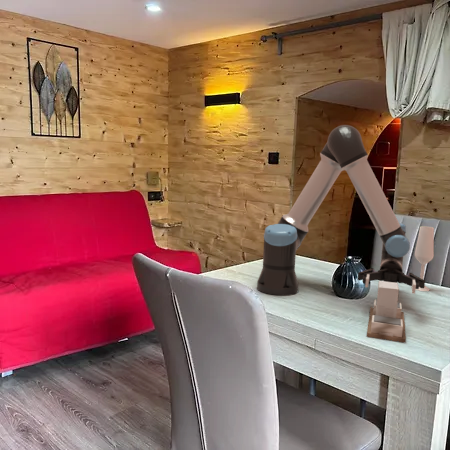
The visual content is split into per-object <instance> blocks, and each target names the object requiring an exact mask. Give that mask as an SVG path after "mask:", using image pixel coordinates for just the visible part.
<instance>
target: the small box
mask: <svg viewBox="0 0 450 450" xmlns="http://www.w3.org/2000/svg"><path fill="white" fill-rule="evenodd" d="M377 282H378V284H377V295H376V296H377V297H376V299H377V306H376V315H378V316H385V317H392V318H396V315H397V304H398V302H399V301H398V300H399V290H400V289H399V283H398V282H397V283H394V282H385V281H379V280H378V281H377Z"/></svg>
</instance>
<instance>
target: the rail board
mask: <svg viewBox="0 0 450 450" xmlns="http://www.w3.org/2000/svg"><path fill="white" fill-rule="evenodd" d="M376 306H377V298H376V299H374V301H373V307H372V306H371V307H370V309H369V315H368V321H367V322H368V324H367V329H366V337H367V336H368V337H367V338H373V337H374V338H373V339H381V340H385V339H386V340H385V341H391V340H392V341H393V342H397V341H399V343H404V342H407V336H406V325H405V324H406V323H405V312H404V311H402V310H403V309H402V303H401V302H399V301H398V304H397V315H396V318H392V317H385V316H378V315H376Z"/></svg>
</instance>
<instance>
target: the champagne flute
mask: <svg viewBox="0 0 450 450" xmlns="http://www.w3.org/2000/svg"><path fill="white" fill-rule="evenodd" d="M434 230H435V229H434V227H433V226H428V225H427V226H424V225H423V226H422V225H421V226H420V227H419V231H418V237H417V241H416V245H415V250H414V258H415V259H416V260H417V261H418V262H419V264H420V265H421V266H420V275H419V278H421V279H423V280H424V276H425V275H424V274H425V265H426V264H428V263H430V262H431V261H433V259H434V255H435V253H434V252H435V251H434V245H435V244H434V243H435V242H434V241H435V239H434V238H435V236H434V235H435V234H434V232H435V231H434ZM410 287H411V289H412V286H410ZM429 290H431V289H430V288H429V287H427V286H426V285H425V286H424V288H420V287H419V289H415V291H421V292H429Z"/></svg>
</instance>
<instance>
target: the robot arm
mask: <svg viewBox="0 0 450 450" xmlns="http://www.w3.org/2000/svg"><path fill="white" fill-rule="evenodd" d="M319 154H320V160H319V162H318V164H317V166H316V168H315V169H314V171H313V172H312V174H311V175H310V177H309V179H308V180H307V182H306V184H305V185H304V187H303V188H302V190H301V192H300V194H299V196H298V197H297V198H296V201H295V202H294V204H293V206H292V207H291V208H290V210H289V211H288V213H287V214H283V215H282V216H281V217H280V219H279V221H278V223H274V224H270V225H267V226H266V227H265V228H264V233H263V252H262V253H263V255H262V269H261V272H260V273H259V276H258V279H257V281H256V282H257V283H256V289H257V290H258V291H259V292H262V293H263V294H268V295H274V296H290V295H295V294H297V293H299V286H300V285H299V282H298V281H299V280H298V278H297V274H296V271H295V270H296V257H297V255H296V254H297V251H298V249H299V248H300V246H301V245H302V242H303V241H304V239H305V238H306V236H307V235H308V233H309V223H310V222H311V220H312V219H313V217H314V215H315V214H316V212H317V211H318V209H319V207H321V204H322V203H323V202H324V199H325V198H326V197H327V195H328V193H329V191H330V190H331V188H332V187H333V186H334V183H335V182H336V180H337V179H338V177H339V175H340V174H341V173H342V172H343V171H345V172H346V173H347V176H348V177H349V179H350V181H351V183H352V185H353V187H354V189H355V191H356V193H357V194H358V195H357V196H359V199H360V200H361V203H362V204H363V206H364V208H365V210H366V212H367V214H368V215H369V218H370V220H371V223H372V224H373V226H374V227H375V230H376V231H377V234H378V235H379V238H380V240H381V242H382V248H381V249H382V250H381V255H380V256H381V257H380V264H379V265H380V266H379V270H378V269H377V270H375V269H374V268H373V267H370V268H369V269H365V270H362V271H359V272H358V273H357V281H362V284H364V285H365V286H364V287H365V288H369V283H370V282H371V281H372V282H373V281H378V282H379V281H385V282H394V283H398V284H405V285H406V286H410V287H412V288H411V293H412V294H414V295H415V294H416V290H415V289H419V287H420V288H424V286H426V280H425V279H424V278H423V279H421V278H420V276H417V275H415V274H414V273H413V272H409V273H407V274H406V273H404V272H403V271H404V270H403V264H404V257H405V256H406V255H407V254H408V253H409V251H410V247H411V245H410V241H409V239H408V238H407V236H406V233H407V230H406V229H407V228H406V227H407V226H406V225H405V224H404V223H402V222H399V220H398V219H397V216H396V214H395V213H394V211H393V209H392V206H391V205H390V203H389V201H388V198H387V197H386V195H385V193H384V191H383V188H382V187H381V185H380V183H379V181H378V179H377V178H376V177H377V176H376V175H375V173H374V172H373V169H372V167H371V165H370V163H369V161H368V157H369V154H368V153H367V150H366V148H365V146H364V142H363V139H362V135H361V133H360V131H359V130H358V129H357V128H356V127H354V126H353V125H349V124H341V125H338V126H337V127H335V128H333V129H332V130H331V131H330V133H329V135H328V137H327V142H326V143H325V145H324V146H323V149H322V150H321V151H320V153H319Z"/></svg>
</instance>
